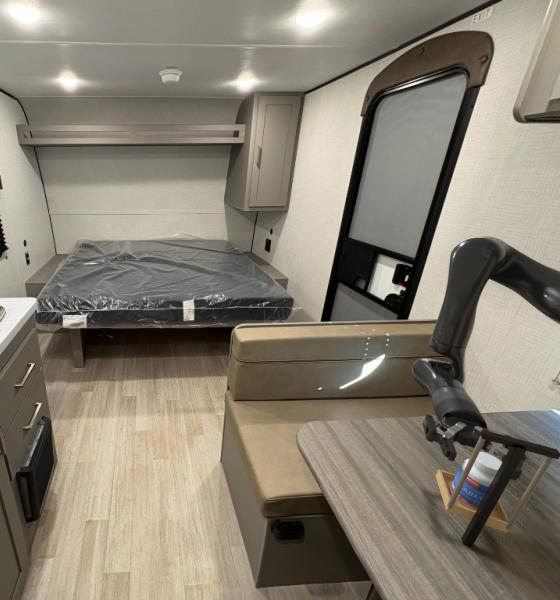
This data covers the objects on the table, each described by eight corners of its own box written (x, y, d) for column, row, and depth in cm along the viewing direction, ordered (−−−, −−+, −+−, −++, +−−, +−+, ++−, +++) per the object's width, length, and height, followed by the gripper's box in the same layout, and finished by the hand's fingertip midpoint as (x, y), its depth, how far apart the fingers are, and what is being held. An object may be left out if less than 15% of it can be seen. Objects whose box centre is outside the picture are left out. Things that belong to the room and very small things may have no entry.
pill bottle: (448, 498, 60) (467, 460, 56) (450, 480, 63) (467, 442, 60) (489, 518, 56) (511, 479, 52) (488, 497, 60) (509, 459, 56)
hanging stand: (478, 515, 64) (532, 417, 54) (497, 562, 56) (563, 457, 47) (424, 496, 67) (466, 401, 58) (435, 538, 60) (485, 436, 50)
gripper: (421, 388, 72) (440, 437, 59) (506, 408, 66) (548, 467, 53) (412, 414, 75) (427, 466, 62) (492, 435, 69) (529, 498, 56)
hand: (483, 466), depth 57 cm, fingers open, 8 cm apart
